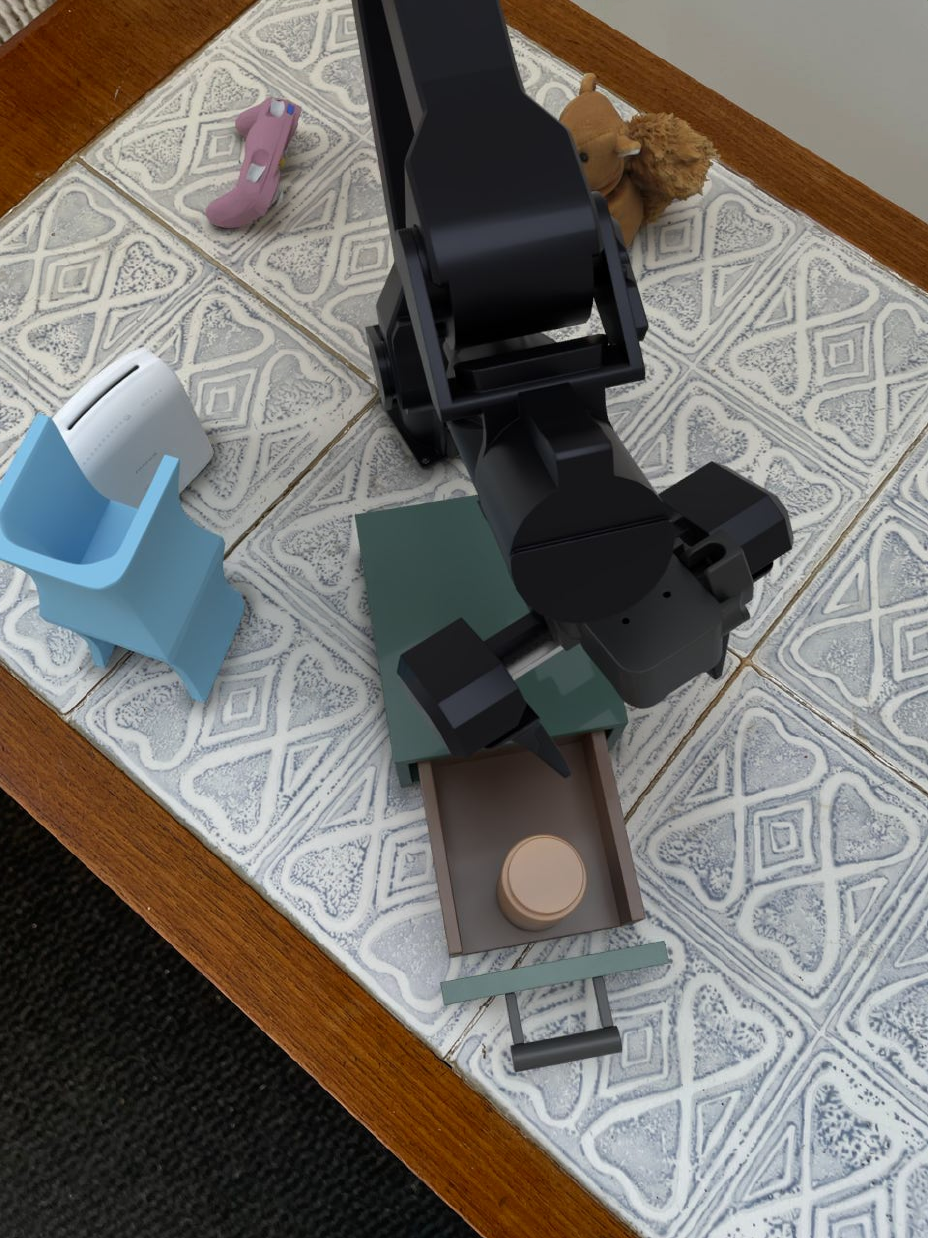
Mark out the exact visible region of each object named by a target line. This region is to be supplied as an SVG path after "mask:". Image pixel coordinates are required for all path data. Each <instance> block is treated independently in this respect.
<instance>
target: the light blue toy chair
mask: <svg viewBox="0 0 928 1238" xmlns="http://www.w3.org/2000/svg"><path fill="white" fill-rule="evenodd" d="M52 418H53V417H51V416H48V415H45V414H41V413H39V412H38V413H37V412H36V414H35V417H34V418H33V421H32V422H31V424H30V426H29V428H28V429H27V432H26V433H25V436H24V438H23V439H22V441H21V443H20V445H19V447H18V449H17V451H16V452H15V455H14V457H13V458H12V460H11V462H10V464H9V466H8V467H7V470H6V471H5V474H4V476H3V477H2V479H1V481H0V561H1V562H3V563H6V564H9V565H10V566H12V567H15V568H16V569H19V570H20V571H23V572H24V573H26V574H27V575H28V576H29V577H30V578H31V580H32V582H33V583H34V585H35V587H36V591H37V594H38V605H39V606H38V616H39V617H40V618H41V619H42V620H44V621H45V622H46V623H49V624H52V625H55V626H58V627H61V628H64V629H66V630H68V631H70V632H72V633H74V634H76V635H77V636H79V637H81V638H82V639H83V641H84V642H85V643H86V644H87V646H88V647H89V650H90V652H91V657H92V663H93V665H94V666H96V667H100V668H102V669H106V667H107V665H108V662H109V661H110V658H111V656H112V654H113V652H114V650H115V648H116V646H118V647H121V648H122V649H123V648H124V649H125V650H126V649H127V650H129V651H132V652H135V653H137V654H140V655H142V656H144V657H147V658H151V659H153V660H157V661H160V662H162V663H165V664H167V665H168V666H169V667H170V668H171V669H173V671H174V672H175V674H177V676H178V677H179V678H180V680H181V682H182V683H183V685H184V687H185V689H186V690H187V692H188V694H189V695H190V697H191V699H192V700H195V701H197V702H201V703H204V704H206V702H207V700H208V697H209V696H210V693H211V691H212V688H213V686H214V684H215V682H216V679H217V676H218V675H219V672H220V670H221V667H222V665H223V663H224V661H225V658H226V656H227V653H228V651H229V650H230V647H231V644H232V642H233V640H234V638H235V635H236V633H237V631H238V628H239V626H240V623H241V621H242V618H243V615H244V612H245V607H246V604H245V600H244V598H243V595H242V594H241V593H240V591H239V590H238V589H236V588H235V587H233V586H231V584H230V583H229V582H228V580H227V578H226V575H225V569H224V561H225V560H224V559H225V550H226V544H227V543H226V541H225V538H224V537H223V536H222V535H220V534H218V533H214V532H212V531H211V530H208V529H206V528H204V527H201V526H200V525H198V523H195V522H194V521H193V520H191V518H189V516H188V515H187V514H186V512H185V511H184V509H183V506H182V503H181V499H180V498H181V497H180V494H179V490H178V488H179V471H180V459H179V458H175V457H172V456H169V455H166V454H165V455H164V457H163V459H162V461H161V463H160V465H159V467H158V469H157V472H156V474H155V476H154V478H153V480H152V482H151V484H150V486H149V488H148V490H147V492H146V494H145V497H144V499H143V501H142V503H141V505H140V507H139V509H136V508H133V507H131V506H128V505H125V504H122V503H119V502H116V501H113V500H110V499H108V498H106V497H104V496H103V495H101V494H100V493H99V492H98V491H97V490H96V489H95V488H94V487H93V486H92V485H91V483H90V482H89V481H88V480H87V478H86V477H85V475H84V474H83V472H82V470H81V469H80V467H79V466H78V464H77V462H76V460H75V459H74V457H73V455H72V454H71V452H70V450H69V448H68V446H67V445H66V443H65V441H64V439H63V437H62V435H61V434H60V432H59V430H58V428H57V426H56V424H55V423H54V421H53V420H52Z"/></svg>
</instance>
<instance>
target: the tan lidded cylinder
mask: <svg viewBox="0 0 928 1238" xmlns="http://www.w3.org/2000/svg"><path fill="white" fill-rule="evenodd" d="M586 887H587V871H586V866H585V863H584V861H583V859H582V857H581V855H580V854H579V852H578V851H577V850H576V848H575V847H574V846H573V845H571V844H570V843H569V842H567V841H566V840H564V839H562V838H560V837H558V836H555V835H550V834H537V835H532V836H529V837H527V838H525V839H523V840H521V841H520V842H518V843H517V844H516V845H515V846H514V847H513V848H512V849H511V850H510V852H509V853H508V855H507V857H506V859H505V861H504V864H503V867H502V870H501V873H500V876H499V879H498V883H497V900H498V904H499V907H500V909H501V911H502V912H503V914H504V915H505V917H506V918H507V919H508V920H509V921H510V922H511V923H513V924H514V925H516V926H517V927H519V928H522V929H525V930H529V931H541V930H545V929H548V928H550V927H552V926H554V925H556V924H557V923H558V922H560V921H561V920H562V919H564V918H565V917H566V916H567V915H569V914H570V913H571V912H572V911H574V910H575V909H576V908H577V906H578V905H579V904H580V902H581V901H582V899H583V897H584V894H585V891H586Z"/></svg>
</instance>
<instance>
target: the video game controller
mask: <svg viewBox="0 0 928 1238" xmlns="http://www.w3.org/2000/svg"><path fill="white" fill-rule="evenodd" d="M302 109H303V108H302V106H301V105H298V104H296V103H294V102H293V101H290V100H289V99H285V98H282V97H274V96H273V97H272V96H271V97H267V98H265V99H264V100H263V101H262V102H261V103H259V104H257V105H255V106H252V107H249V108H248V109H245V110H244V111H242V112H241V113H240V114H239V115H238V116H237V117H236V119H235V122H234V124H235V129H236V131H237V132H238V133H239V134H240V135H241V136H242V137H243V138H245V144H244V145H245V146H244V147H245V148H244V151H245V154H244V157H243V158H244V159H243V161H242V164H241V167H240V171H239V175H238V179H237V183H236V185H235V186H234V187H233V188H232V189H231V190H230V191H228V192H227V193H225V194H223V195H222V196H219V197H218V198H216V199H214V200H212V201H210V203H209V204H208V206H206V209H205V216H206V218H207V220H208V221H209V222H210V223H211V224H212V225H214V226H216V227H218V228H219V227H220V228H226V229H230V228H238V227H239V228H240V227H242V226H246V225H248V224H250V223H252V222H254V221H255V220H257V219H258V218H260V217H264V216H265V215H266V213H267V211H268V210H269V208H270V206H271V205H273V204H275V207H278V206H279V205H280V204H282V202H283V200H284V197H285V195H284V190H283V189H281V190H279V186H280V182H279V181H280V178H281V170H279V168H283V166H284V165H285V162H286V158H285V157H284V154H285V153H286V151H287V149H288V146H289V145H290V142H291V140H292V139H293V138H294V137H295V134H296V133H297V129H298V126H299V120H300V117H301V114H302Z"/></svg>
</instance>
